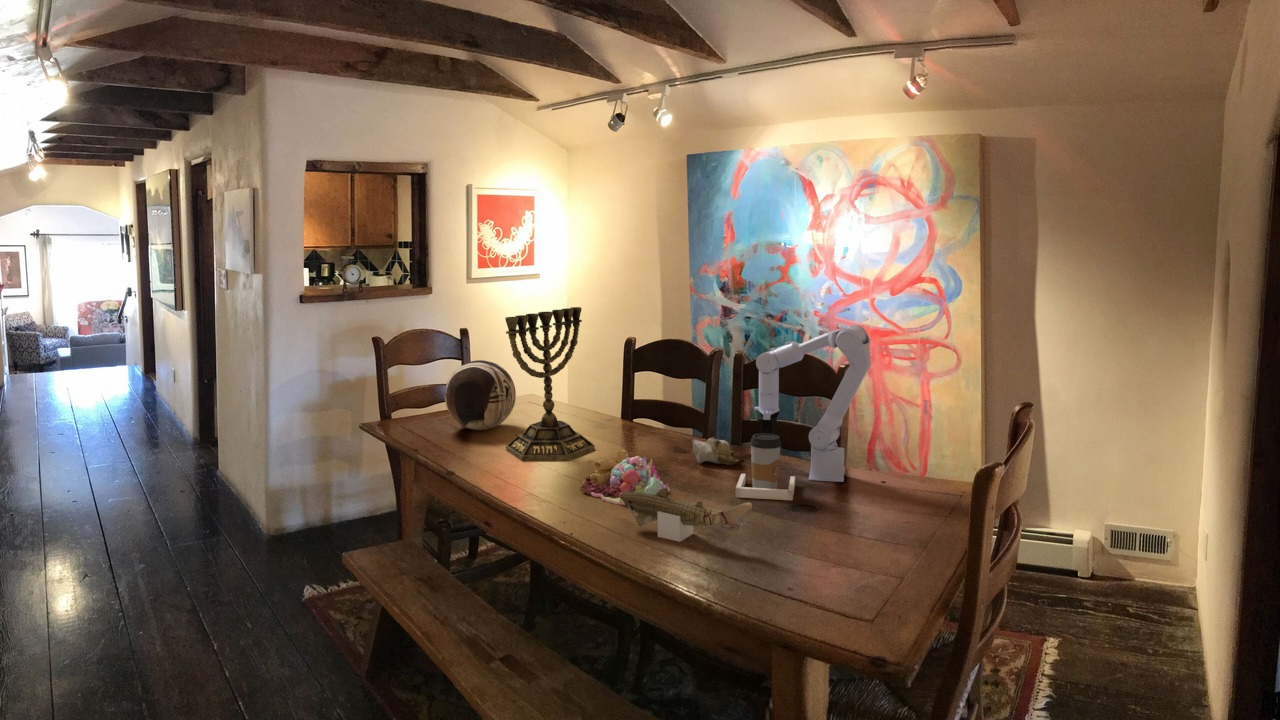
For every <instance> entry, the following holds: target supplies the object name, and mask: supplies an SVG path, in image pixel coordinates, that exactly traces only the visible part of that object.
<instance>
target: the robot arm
mask: <svg viewBox="0 0 1280 720" xmlns="http://www.w3.org/2000/svg"><path fill="white" fill-rule="evenodd" d="M870 344H871V338H870V336H869V335H868V333H867V331H866V329H865V328H864V327H862V326H860V325H856V324H854V325H851V326H849V327H844V328H838V329H835V330H834V329H833V330H830V331H828V332H825V333H823V334H821V335H818V336H815V337H814V338H811V339H808V340H806V341H805V342H802V343H800V342H797V341H795V340H794V341H791V340H789V341H786V342H784V345H782V346H781V345H780V346H778V347H772V348H770V350H767V351H766V352H762V353H761V354H759V355H758V356H757V357H756V360H755V366H756V368H757V370H758V406H754V411H758V412H759V414H760V416H757V419H756V420H757V424H759V427H760V431H761V433H767V434H774V432H775V426H776V424H777V421H778V416H779V415H780V407H779V403H780V402H779V400H780V399H779V397H780V396H779V395H780V394H779V393H780V392H779V391H780V390H779V389H780V385H779V384H780V383H779V382H780V376H779V374H780V369H781V368H785V367H787V366H790V365H792V364H795V363H798V362H801V361H802V360H803V358H804V356H805V354H808V353H811V352H813V351H817V350H819V349H822V348H826V347H830V348H833V349H836V348H837V349H838V350H839V351H840V352H841V353H842V354H843V355H844V356H845V358H846V360H847V362H848V365H849V366H848V368H847V369H846V372H845V374H844V376H843V378H842V380H841V381H840V384H839V385H838V387H837V389H836V391H835V393H834V395H833V397H832V399H831V401H830V403H829V404H828V407H827V409H826V411H825V413H824V414H823V415H822V417H821V418H820V420H819V421H818V423H817V425H816V426H814V427H813V428H811V429H810V430H809V433H808V441H809V443H810V445H811V446H810V471H809V475H808V480H809V481H818V482H820V481H821V482H833V483H834V482H835V483H838V482H839V483H843V482H845V481H844V480H845V474H846V467H845V448H844V447H839V446H838V443H837V440H838V438H839V437H840V435H841V426H842V424H843V418H844V417H845V415H846V413H847V411H848V410H849V407H850V406H851V403H852V401H853V399H854V397H855V396H856V393H857V391H858V390H859V388H860V386H861V384H862V383H863V380H864V378H865V376H866V374H867V373H868V371H869V369H870V366H871V364H872V363H871V351H870V350H871V349H870V348H871V347H870Z"/></svg>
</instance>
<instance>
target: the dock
mask: <svg viewBox="0 0 1280 720" xmlns="http://www.w3.org/2000/svg"><path fill="white" fill-rule="evenodd" d="M746 478H747V477H746V473H741V474H740V476H739V479H738V481H737V483H736V486H735V498H745V499H763V500H775V501H776V500H777V501H778V500H780V501H794V494H795V488H796V487H795V486H796V476H794V475H791V476H790V479H789V484H788V489H783V488H777V489H769V488H753V487H750V486H749V487H746V486H745V485H746V483H745V482H747V481H746Z"/></svg>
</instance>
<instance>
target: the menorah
mask: <svg viewBox="0 0 1280 720" xmlns="http://www.w3.org/2000/svg"><path fill="white" fill-rule="evenodd" d="M581 313H582V307H581V306H572V307H568V308H567V307H566V308H561V309H552V311H538V313H526V314H525V315H524V314H521V315H515V316H508V317H507V316H506V317H505V322H506V323H505V324H506V326H507V329H508V330H507V331H505V334H506V335H508V339H509V344H510V347H511V351H512V356H513V358H514V359H516V362H517V365H519V367H520V369H521V370H523V371H524V372H525V373H527V374H528V375H529V376H531V377H535V378H539V379H543V383H544V387H543V391H544V395H543V397H544V399H545V400H544V401H543V403H542V406H543V409H544V411H545V413H543V415H542V416H541V421H537V422H535V423H532V424H529V426H528V427H527V428H526V429H525V431H524V432H523V433H520V434H518V435H517V436H516V437H514V439H512V440H511V441H510V442H509V443H507V445H505V451H506V452H508V453H509V454H511V455H512V456H514V457H515V458H517V459H518V460H520V461H521V462H539V461H540V462H549V461H550V462H555V461H557V462H558V461H560V462H561V461H564V462H565V461H566V462H567V461H571V460H573V459H575V458H578V457H580V456H583V455H585V454H587V453H590V452H592V451H596V450H595V448H596V447H595V444H593V443H592V442H591V441H590V440H589V439H588V438H586V437H584V436H583V435H582V434H581V433H579V432H577V431H575V430H574V429H573V428H572V426H571V424H568V423H567V422H565V421H562V420H558V418H557V416H556V414H555V413H554V412H553V410H554V408H555V402H554V401H553V400H552V398H553V395H554V394H553V392H552V391H553V386H552V383H553V379H552V377H551V376H554V375H556V374H558V373H559V372H561V371H562V370H564V368H565V367H566V365H567V364H568V363H569V361H571V359H572V358H573V353H574V350H575V349H576V347H577V346H578V343H579V342H578V338H579V331H580V329H579V328H580V325H581V324H580V323H582V322H583V320H582V319H580V317H581ZM552 318H553V319H554V322H553V323H552V324H551V321H552ZM538 320H540V322H541V324H542V325H539V327H538V326H537V324H538ZM563 320H564V321H563ZM527 324H528V325H527ZM527 326H528V327H527ZM553 326H554V329H555V333H554V335H553V337H552V341H550V336H549V332H550V330H551V328H553ZM517 327H518V329H517ZM563 327H564V329H565V330H564V336H563V339H561V335H562V332H561V331H562V330H563ZM572 327H573V330H572V338H571V340H570V341H569V338H570V333H571V329H572ZM539 329H542V333H543V341H542V343H543V344H541V341H540V340H539V339H538V337H537V334H538V333H537V331H538V330H539ZM527 332H528V333H529V335H530V340H531V344H532V345H533V347H535V348H536V349H538V351H540V352H543V353H542V357H543V358H539V357H538V356H537V355H535V353H534V352H532V348H531V347H530V346H529V344H528V341H527ZM517 335H518V337H519V338H520V342H521V345H522V349H523V353H524V354H525V355H527V357H528V358H529V360H531V361H532V362H533V363H536V364H537V363H538V364H541V365H543V366H542V369H543V371H537V370H536V369H533V368H531V367H530V366H529V365H528V363H527V361H525V360H524V359H523V357H522V352H521V351H520V350H519V347H518V344H517V340H516V339H517ZM560 341H561V342H560ZM559 342H560V346H559V347H558V350H557V351H555V353H554V354H553V355H552V353H551V351H550V350H552V349H554V348H555V347H556V346H557V344H558V343H559ZM569 342H570V343H569ZM568 345H570V346H569V347H568V349H567V352H565V349H566V348H567V346H568ZM564 352H565V354H564V358H563V360H561V362H559V363H558V364H557V366H556V367H554V368H553V367H552V364H551V363H553V362H554V361H556V360H557V359H559V358H560V357H561V356H562V353H564Z"/></svg>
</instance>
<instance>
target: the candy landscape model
mask: <svg viewBox="0 0 1280 720" xmlns="http://www.w3.org/2000/svg"><path fill="white" fill-rule="evenodd" d="M616 456H617V458H616V457H614V458H613V460H610V459H597V460H596V461H594V462H593V463H592V465H593V467H594V468H595V470H593V472H592V474H590V475H589V476H587V477H586V478H585V481H583V482H582V484H581V487H580V490H582V489H583V491H582V493H584V494H585V495H590V496H592V497H595V498H600V499H601V501H604V502H606V503H611V504H614V505H622V506H626V504H625V503H624V502H623V500H622V499H621V497H620V494H621V493H622V492H638V493H639V492H642V493H646V494H651V495H652V494H654V495H655V494H656V493H657V492H658V491H659V490H660V489H662V488H667V489H668V493H669V492H670V488H669V485H668V483H665V484H664V482H663V481H662V480H661V477H660V476H659V475H658V471H657V470H656V466H655V465H654V463H653V459H650V461H649V462H648V463H647V458H646V457H645V456H643V457H641V455H636V456H633V457H629V453H628V451H627V450H626V449H619V450H618V451H617V455H616Z"/></svg>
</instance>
